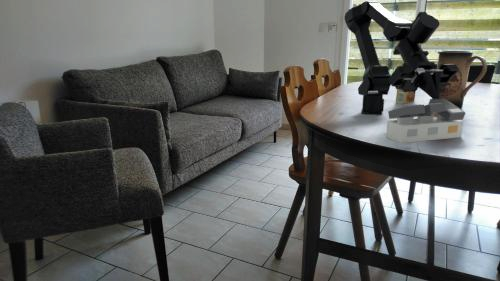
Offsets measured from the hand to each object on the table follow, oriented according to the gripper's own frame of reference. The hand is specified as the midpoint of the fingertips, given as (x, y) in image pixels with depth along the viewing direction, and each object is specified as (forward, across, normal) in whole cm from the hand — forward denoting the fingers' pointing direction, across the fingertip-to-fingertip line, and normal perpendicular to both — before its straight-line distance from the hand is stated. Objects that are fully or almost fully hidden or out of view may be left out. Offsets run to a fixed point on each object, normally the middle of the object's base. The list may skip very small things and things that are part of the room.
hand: (437, 99), depth 97 cm
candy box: (-25, -24, -37) cm, 50 cm away
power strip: (+9, +6, -4) cm, 11 cm away
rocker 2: (+4, +6, +1) cm, 7 cm away
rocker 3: (+4, 0, +1) cm, 4 cm away
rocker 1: (+4, +12, +1) cm, 13 cm away
